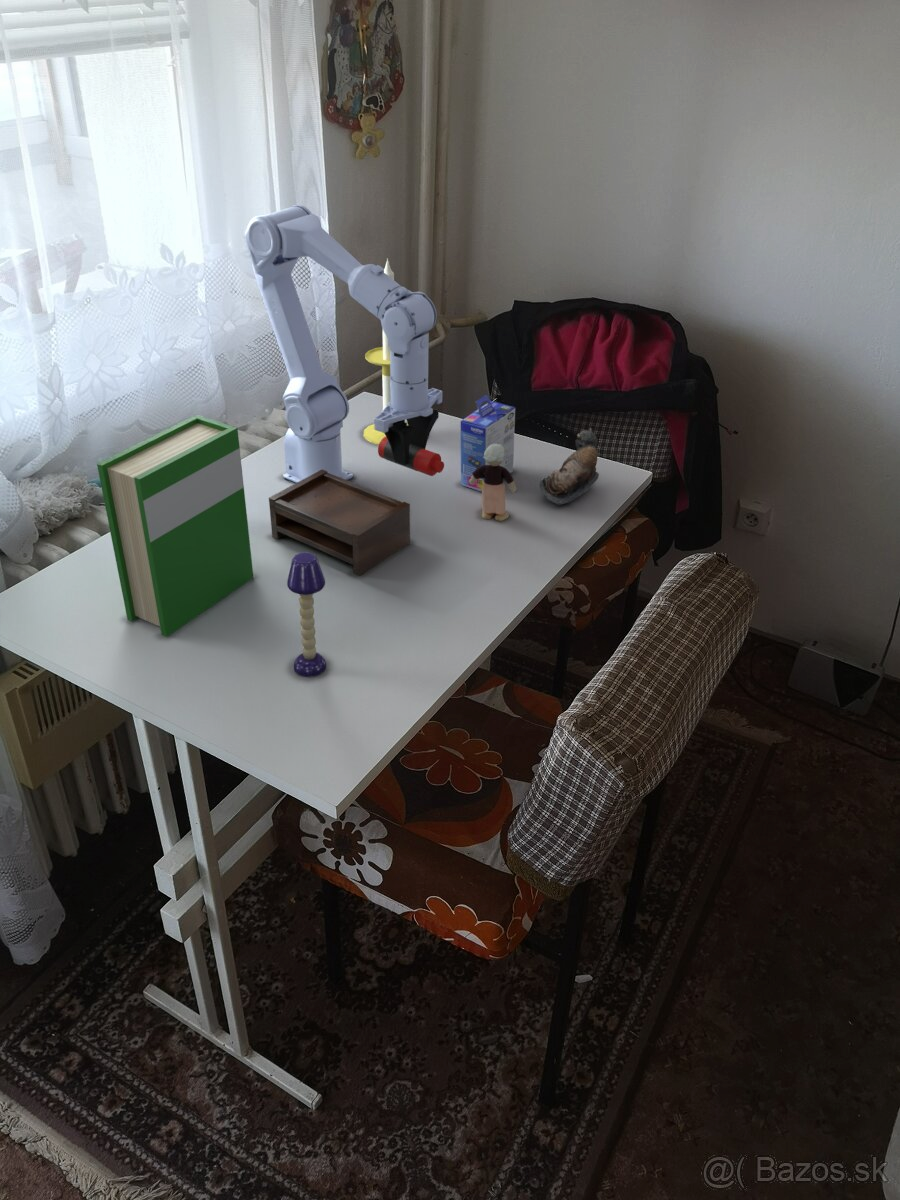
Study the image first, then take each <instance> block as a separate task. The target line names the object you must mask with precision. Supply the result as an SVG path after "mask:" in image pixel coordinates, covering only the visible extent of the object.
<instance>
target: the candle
mask: <svg viewBox="0 0 900 1200" xmlns="http://www.w3.org/2000/svg"><path fill="white" fill-rule="evenodd" d="M383 269H384V273H385V274H387V275H388V276H389V277H390V278H392V279H393V280H394V281H395V273H394V271H393V270H392V268H391V265H390V261H389V258H388V257H387V258H386V262H385V266H384V268H383ZM364 357H365V360H366V361H367V362H368V363H370V364H372V365H374V366H381V369H382V370H381V371H382V372H381V375H382V411H383V410H384V409H385V408H386V406H387V405H388V404H389V403H390V402H391V391H390V348H389V347H388V339H387V336H386V334H385V332H384V330H383V329H382V346H379V347H374V348H372V349H370V350H367V352H366V353H365V355H364ZM407 425H408V423H407ZM384 437H386V435H385V434H384V433H383V432H380V431H377V430H375V429H374V423H372V424H370V425H368V426H367V427H366V428H365V429H364V430H363V438H364V439H365V440H366V441H367V442H369V443H371V444H373V445H375V446H379V443H380V441H381V440H382V439H383V438H384Z"/></svg>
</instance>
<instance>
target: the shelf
mask: <svg viewBox="0 0 900 1200" xmlns="http://www.w3.org/2000/svg"><path fill="white" fill-rule="evenodd" d="M268 505H269V517H270V528H271V537H272V538H273V539H276V540H279V539H281V538H283V537H284V536H287V537H290V538H292V539H294V540H296V541H299V542H301V543H303V544H305V545H308V546H309V547H312V548H314V549H316V550H319V551H321V552H323V553H325V554H328V555H329V556H332V557H335V558H336V559H339V560H341V561H344V562H345V563H348V564H351V565H353V574H354V575H356V576H359V577H361V576H362V575H364V574H365V573H367V572H369V571H370V570H372V569H373V568H374V567H377V565H379V564H380V563H381V562H384V561H385V560H386V559H388V558H389V557H391V556H393V555H394V554H396V553H397V552H399V551H400V550H402V549H404V548H405V547H406V546H407V545H409V544H410V543H411V504H410V503H408V502H406V501H401V500H398V499H396V498H393V497H391V496H388V495H386V494H383V493H381V492H378V491H377V490H373V489H371V488H368V487H366V486H362V485H360V484H358V483H355V482H353V481H350V480H349V479H348V480H345V479H343V478H340V477H337V476H335V475H332V474H330V473H328V472H327V471H325V470H323V469H322V470H320V471H318V472H316V473H314V474H312V475H310V476H309V477H307V478H305V479H303V480H301V481H299V482H297V483H296V482H294V484H292V485H290V486H288V487H286V488H284V489H282V490H281V491H279V492H277V493H275V494H273V495H271V496H269V497H268Z"/></svg>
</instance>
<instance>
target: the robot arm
mask: <svg viewBox="0 0 900 1200" xmlns="http://www.w3.org/2000/svg"><path fill="white" fill-rule="evenodd" d="M243 239H244V242H245V245H246V247H247V251H248V253H249V257H250V259H251V263H252V264H251V265H252V271H253V274H254V277H255V280H256V284H257V286H258V289H259V292H260V295H261V298H262V301H263V304H264V307H265V310H266V312H267V315H268V318H269V321H270V325H271V328H272V330H273V333H274V336H275V339H276V342H277V345H278V347H279V351H280V353H281V356H282V359H283V362H284V365H285V368H286V371H287V374H288V376H289V379H290V380H289V382H288V384H287V387H286V389H285V391H284V394H283V396H282V400H283V403H284V406H285V420H286V423H287V425H288V429H287V431H286V433H285V436H284V440H283V448H284V449H283V450H284V461H285V473H283V474H282V478H284V479H286V480H289V481H291V482H294V483H297V482H299V481H301V480H303V479H305V478H307V477H309V476H310V475H312V474H314V473H316V472H318V471H320V470H322V469H323V470H325V471H327V472H328V473H330V474H332V475H335V476H337V477H340V478H343V479H345V480H348V481H349V480H350V479H352V478H353V477H354V473H352V472H350V471H347V470H344V469H343V457H342V456H343V455H342V436H341V435H342V433H341V429H342V428H343V427H344V422H343V421H344V420H345V419H346V418H347V417H348V416H349V412H350V403H349V400H348V398H347V396H346V394H345V393H344V391H343V390H342V389H341V387H340V385H339V382H338V379H337V377H336V376H335V375H333V374H332V373H331V374H330V372H329V373H328V372H327V371H324V369H323V367H322V365H321V361H320V358H319V355H318V352H317V349H316V346H315V342H314V340H313V336H312V334H311V330H310V327H309V324H308V322H307V319H306V316H305V312H304V310H303V307H302V304H301V300H300V298H299V294H298V292H297V289H296V285H295V282H294V279H293V276H292V273H293V270H294V269H295V267H296V264H297V263H298V260H299V259H300V258H304V257H306V258H310V259H311V260H313V261H314V262H316V263H317V264H318V265H320V266H321V267H322V268H324V269H326V270H327V271H329V272H330V273H331V274H333V275H334V276H336V277H337V278H338V279H340V280H341V281H342V282H344V283H346V284H347V286H348V293H349V296H350V297H351V298H352V299H353V300H355V301H356V302H357V303H358V304H359V305H361V306H362V307H363V308H364V309H366V310H367V311H368V312H370V313H371V315H373V316H374V317H376V318H377V319H378V320H379V321H380V324H381V328H382V331H383V330H384V332H385V334H386V336H387V339H388V347H389V348H390V391H391V402H390V403H389V404H388V405H387V406H386V408H385V409H384V410H383V409H382V411H381V412H380V413H379V414H378V415H377V416H375V417H373V424H374V429H375V430H377V431H380V432H383V433H384V434H385V435H386V437H387V439H388V441H389V444H390V446H391V449H392V453H393V456H394V460H395V462H397V463H399V464H402V465H406V464H407V463H408V459H409V448H410V444H413V445H416V446H418V447H421V448H424V449H427V444H428V441H429V437H430V434H431V432H432V430H433V427H434V425H435V424H436V422H437V421H438V419H439V411H438V410H436V409H434V408H432V407H433V405H435V404H437V405H440V404H442V403H443V390H440V389H438V388H434V387H431V388H430V389H429V351H430V350H429V348H430V346H429V340H430V339H429V338H430V337H429V336H430V333H429V331H430V330H432V329H433V328H434V327H435V325H436V323H437V317H438V315H437V314H438V313H437V309H436V306H435V304H434V302H433V301H432V299H430V298H429V296H428V295H427V294H426V293H425V292H422V291H411V290H410V289H408V288H406V287H405V286H402V285H400V284H399V283H398V282H397V281H396V280H395V279H394V280H393V279H392V278H390V277H389V276H388V275H387V274H385V273H384V269H385V268H383V267H382V266H381V265H380V264H377V265H375V264H373V263H369V264H364V265H363V264H362V263H360V261H358V259H356V258H355V257H354V256H353V255H352V254H351V253H350V251H349V252H348V250H347V249H345V247H343V246H342V244H341V243H339V242H338V241H337V240H336V239H334V237H333V236H331V235H330V233H329V232H327V231H326V229H324V228H323V227H322V223H321V218H320V217H319V216H317V215H316V214H314V213H312V211H310V209H309V208H308V207H306V206H304V205H302V204H294V205H291V206H290V207H287V208H283V209H281V210H277V211H274V212H270V213H267V214H263V215H256V216H254V217H253V218H251V219H250V221H249V223H248V224H247V228H246V230H245V232H244V235H243ZM407 424H408V425H407ZM399 464H398V465H399ZM402 465H401V466H402Z"/></svg>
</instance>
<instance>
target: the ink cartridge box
mask: <svg viewBox="0 0 900 1200" xmlns="http://www.w3.org/2000/svg"><path fill="white" fill-rule="evenodd" d="M484 402H487V403H485V404H483V403H484ZM482 404H483V405H482ZM475 405H476V407H477V409H476V410H474V411H473V412H472V413H470V414H469V415H467V416H466V417H464V418H463V419H461V420H460V485H461V486H463V487H466V488H468V489H472V490H474V491H478V492H481V493H482V489H483V482H484V479H485V478H481V479H477V480H476V482H475V484H473V485H472V484H470V483H469V480H470V479H471V477H472V475H473V474H472V473H473V472H474V471H475V470H476V469H477V468H479V467H480V466H483V465H490V464H489V463H488V462H487V461H486V460H485V459H484V458H483V457H484V452H485V450H486V449H487V448H488V447H489V446H490V445H492V444H495V443H496V444H500V445H502V447H504V452H505V453H504V458H503V461H502V463H501V464H500V466H502V467H504V468H506V469H507V470H508V471H509V473H510V474H511V473H513V471H514V459H515V458H514V455H515V454H514V453H515V427H516V426H515V425H516V407H515V406H511V405H507V404H504V403H501V402H497V401H493V400H490V398H489V396H488V395H487V394H485V395H484V396H482V397H481V398H479V399H478V400H476V401H475Z"/></svg>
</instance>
